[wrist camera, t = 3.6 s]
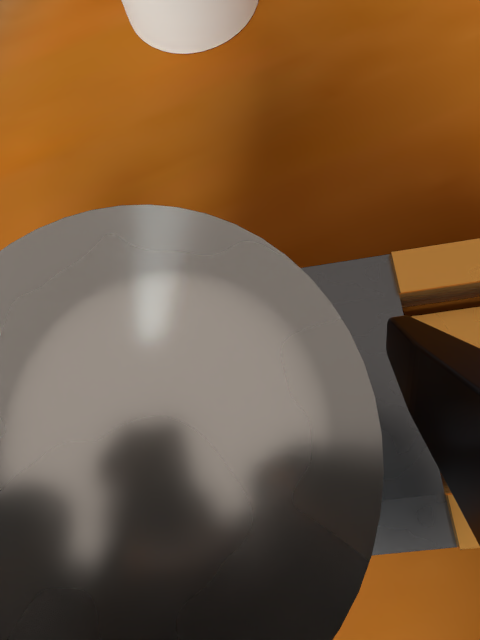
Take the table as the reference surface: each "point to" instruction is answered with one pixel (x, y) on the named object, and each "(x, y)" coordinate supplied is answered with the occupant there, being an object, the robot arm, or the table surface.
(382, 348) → the grey flat frame
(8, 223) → the table surface
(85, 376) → the steel peg
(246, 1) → the cylindrical container
